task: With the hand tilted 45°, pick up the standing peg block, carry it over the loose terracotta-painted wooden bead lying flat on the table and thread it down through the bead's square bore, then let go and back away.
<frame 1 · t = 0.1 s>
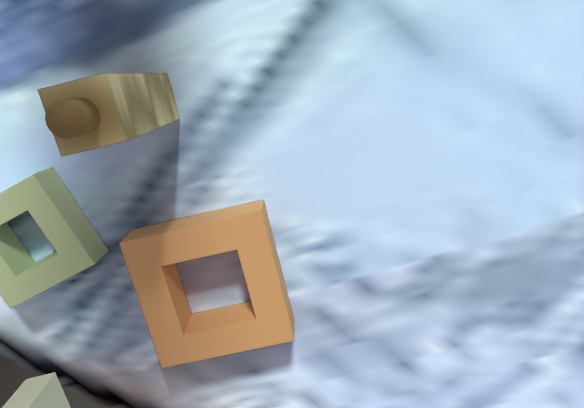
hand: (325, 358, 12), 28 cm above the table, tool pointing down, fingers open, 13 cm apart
bead: (216, 275, 41), on the table
small bead: (40, 231, 40), on the table
peg block: (151, 101, 38), on the table
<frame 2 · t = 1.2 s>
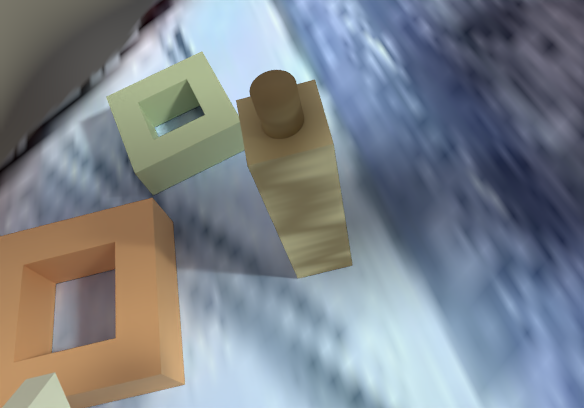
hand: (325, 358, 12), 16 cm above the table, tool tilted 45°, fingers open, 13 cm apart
bead: (97, 315, 32), on the table
small bead: (185, 133, 38), on the table
peg block: (319, 247, 31), on the table
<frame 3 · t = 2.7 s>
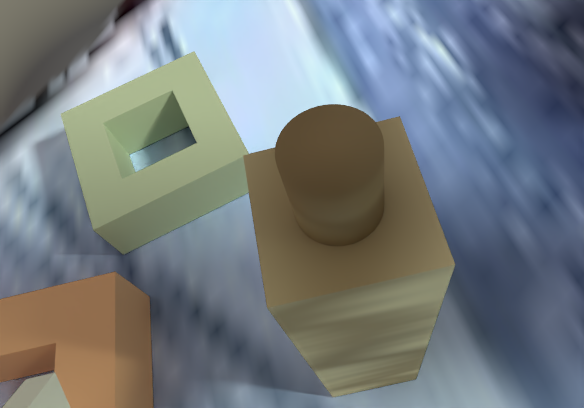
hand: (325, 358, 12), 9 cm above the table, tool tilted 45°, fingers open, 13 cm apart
small bead: (170, 164, 27), on the table
peg block: (363, 346, 21), on the table
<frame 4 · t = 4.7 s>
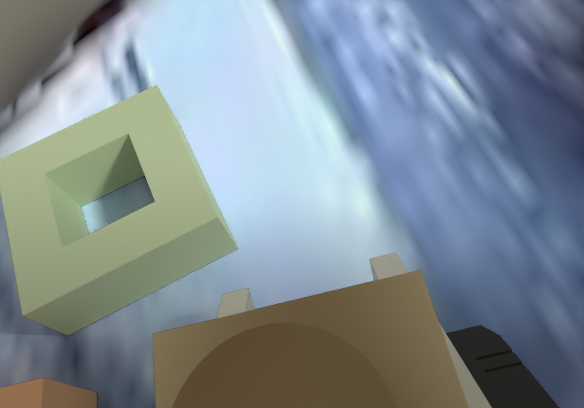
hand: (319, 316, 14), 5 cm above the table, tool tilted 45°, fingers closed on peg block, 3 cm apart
small bead: (129, 219, 23), on the table
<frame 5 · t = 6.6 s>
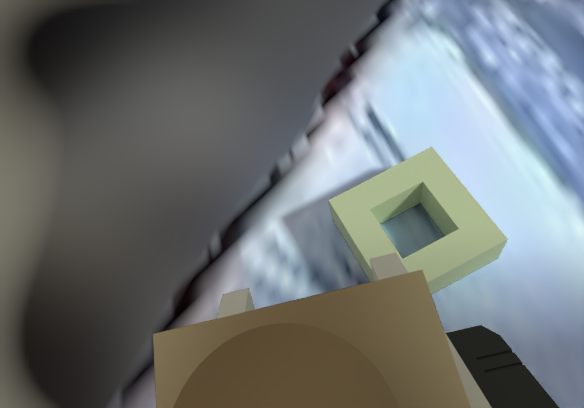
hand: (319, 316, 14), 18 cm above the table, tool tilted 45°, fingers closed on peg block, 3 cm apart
small bead: (411, 238, 34), on the table
when the fingers open (7 cm above the table, at t = 9.0 s): peg block drops 2 cm, resting in bead.
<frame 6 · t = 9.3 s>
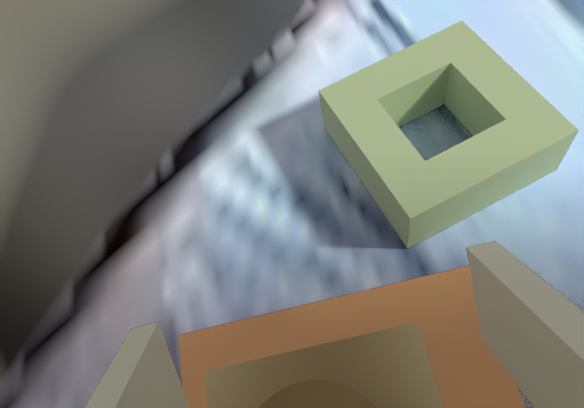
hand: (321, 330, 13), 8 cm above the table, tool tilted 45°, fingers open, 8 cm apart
small bead: (433, 147, 24), on the table
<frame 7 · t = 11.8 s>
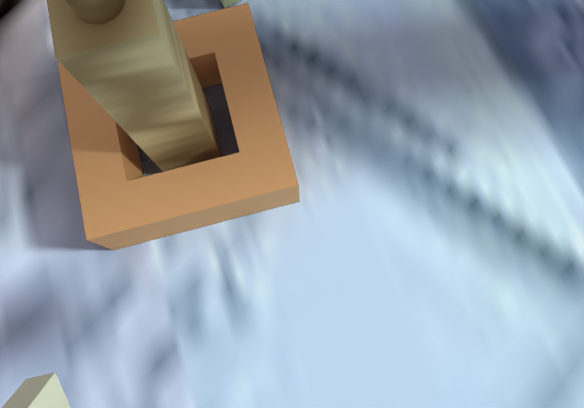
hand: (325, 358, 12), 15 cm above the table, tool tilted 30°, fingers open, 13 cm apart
bead: (187, 138, 29), on the table
peg block: (188, 139, 29), resting in bead
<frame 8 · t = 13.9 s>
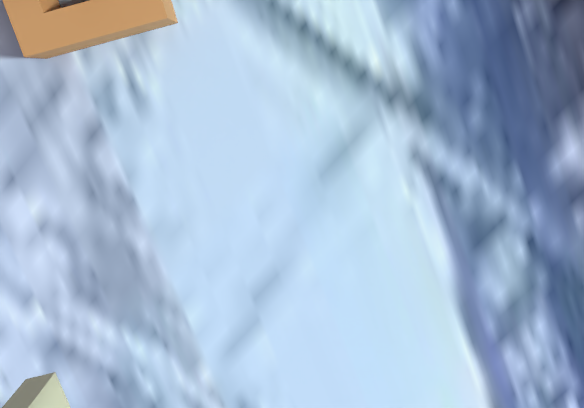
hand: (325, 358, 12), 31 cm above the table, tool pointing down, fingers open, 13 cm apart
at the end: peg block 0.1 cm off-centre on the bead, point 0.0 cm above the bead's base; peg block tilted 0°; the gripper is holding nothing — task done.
